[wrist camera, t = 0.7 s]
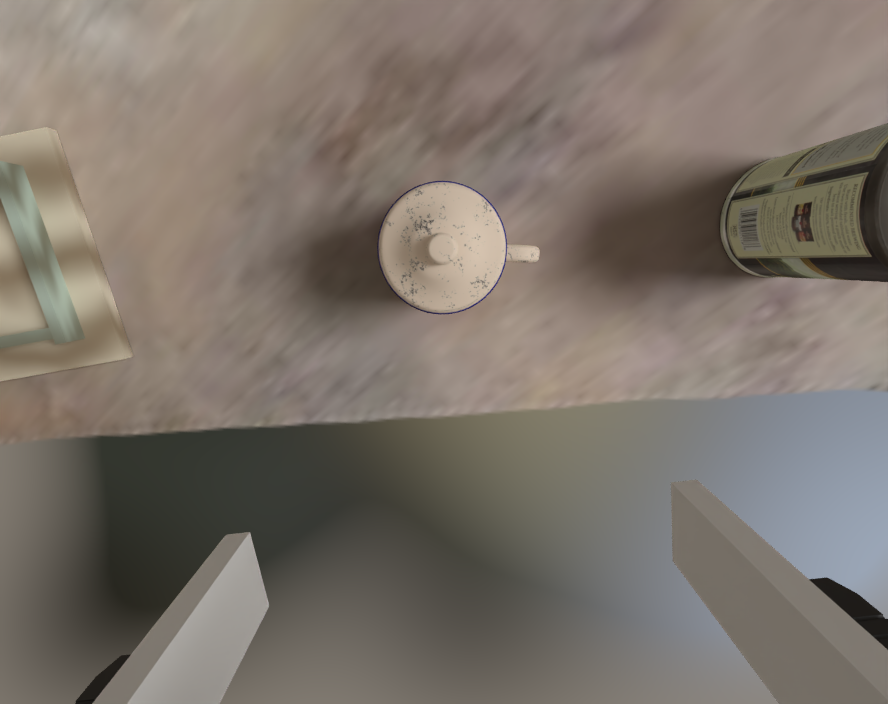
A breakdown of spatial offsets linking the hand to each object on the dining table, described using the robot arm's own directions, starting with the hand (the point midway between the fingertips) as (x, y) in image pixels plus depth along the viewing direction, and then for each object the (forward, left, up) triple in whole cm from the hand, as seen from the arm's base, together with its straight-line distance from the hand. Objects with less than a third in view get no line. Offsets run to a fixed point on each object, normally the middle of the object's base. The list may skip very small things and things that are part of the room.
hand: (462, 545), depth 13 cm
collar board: (-15, -40, -28) cm, 51 cm away
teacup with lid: (-9, +2, -28) cm, 29 cm away
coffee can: (-7, +30, -28) cm, 42 cm away
